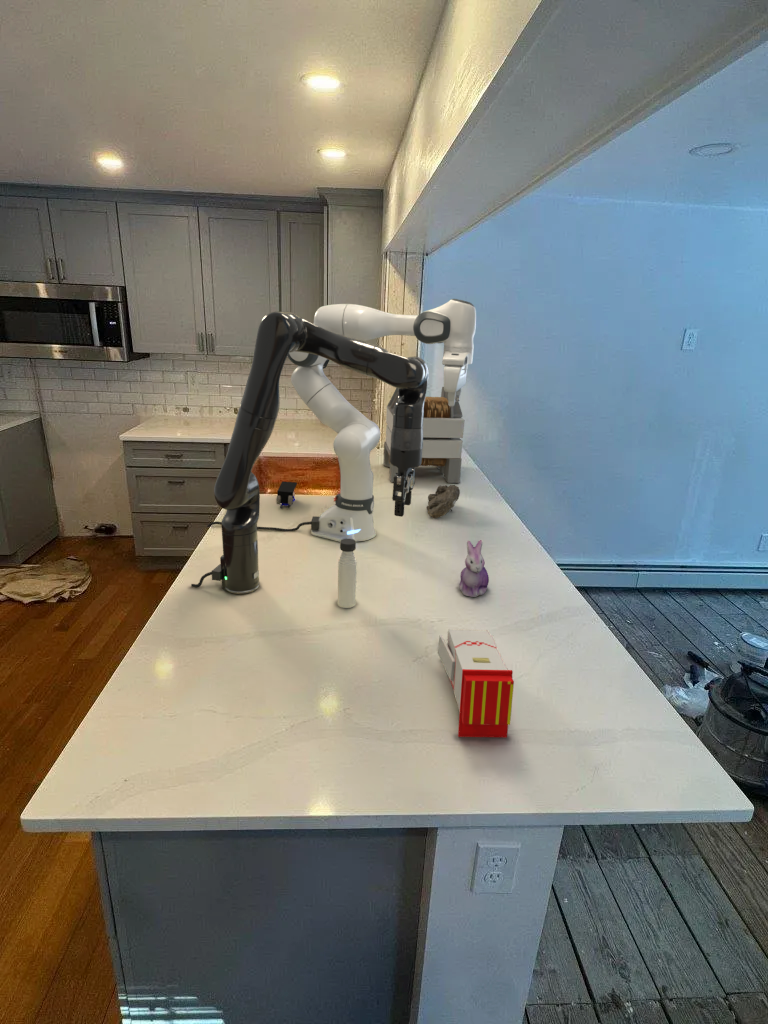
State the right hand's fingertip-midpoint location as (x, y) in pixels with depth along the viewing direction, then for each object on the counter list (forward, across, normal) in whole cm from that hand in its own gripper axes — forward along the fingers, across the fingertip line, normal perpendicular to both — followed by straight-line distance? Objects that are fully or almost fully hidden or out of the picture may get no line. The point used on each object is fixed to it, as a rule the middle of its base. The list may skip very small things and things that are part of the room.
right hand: (454, 403), depth 174 cm
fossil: (+48, -36, -7) cm, 60 cm away
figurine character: (+48, -19, -66) cm, 84 cm away
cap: (+30, +48, -17) cm, 59 cm away
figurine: (+48, +28, +14) cm, 57 cm away
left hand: (+19, +48, -3) cm, 52 cm away
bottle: (+48, +48, -17) cm, 70 cm away
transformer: (+48, -86, -27) cm, 102 cm away
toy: (+48, +74, +20) cm, 90 cm away
